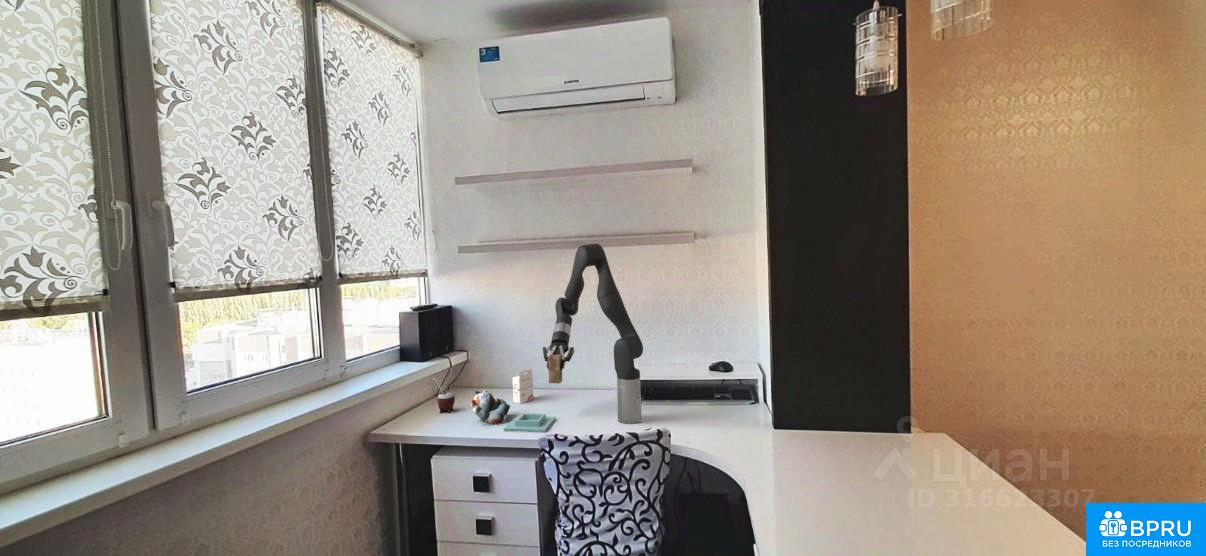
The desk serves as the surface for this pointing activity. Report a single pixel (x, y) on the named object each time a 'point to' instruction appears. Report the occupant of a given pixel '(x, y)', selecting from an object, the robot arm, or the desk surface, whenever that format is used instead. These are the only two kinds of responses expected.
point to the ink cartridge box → (523, 387)
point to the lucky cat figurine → (489, 407)
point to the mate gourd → (445, 400)
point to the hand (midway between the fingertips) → (554, 368)
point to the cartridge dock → (530, 423)
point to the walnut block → (555, 368)
